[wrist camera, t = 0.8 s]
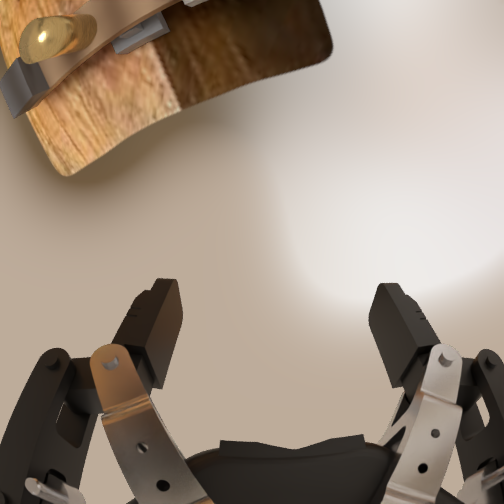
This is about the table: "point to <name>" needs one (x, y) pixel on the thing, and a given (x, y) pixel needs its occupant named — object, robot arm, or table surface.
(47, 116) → the table surface
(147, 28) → the beam stand
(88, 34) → the brass weight
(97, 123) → the table surface
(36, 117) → the table surface
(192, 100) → the table surface
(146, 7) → the seesaw
